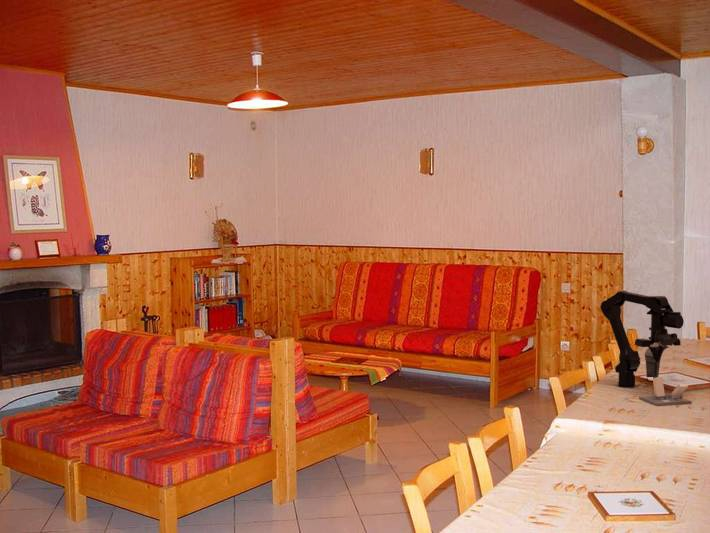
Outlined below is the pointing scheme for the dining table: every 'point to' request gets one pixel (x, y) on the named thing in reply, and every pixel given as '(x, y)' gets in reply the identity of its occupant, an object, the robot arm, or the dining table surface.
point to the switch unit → (665, 400)
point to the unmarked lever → (658, 387)
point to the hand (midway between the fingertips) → (657, 362)
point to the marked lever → (679, 390)
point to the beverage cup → (651, 365)
